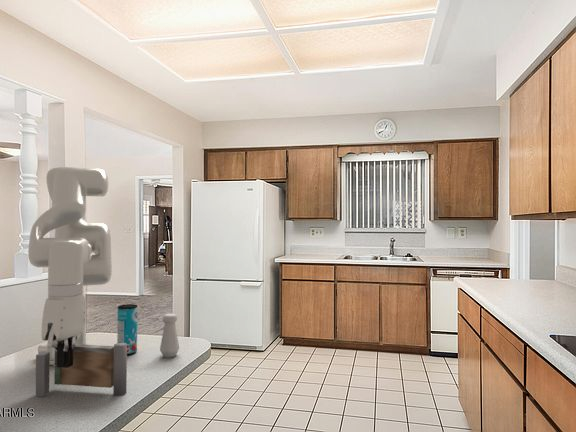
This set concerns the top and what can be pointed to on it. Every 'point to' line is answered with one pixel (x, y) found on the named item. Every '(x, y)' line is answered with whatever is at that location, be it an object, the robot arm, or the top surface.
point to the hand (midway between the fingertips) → (64, 366)
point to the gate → (88, 367)
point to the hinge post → (120, 369)
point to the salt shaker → (169, 337)
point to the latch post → (42, 374)
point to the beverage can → (127, 327)
